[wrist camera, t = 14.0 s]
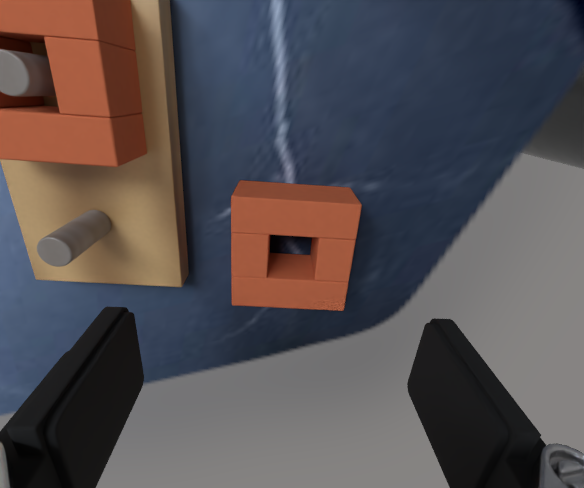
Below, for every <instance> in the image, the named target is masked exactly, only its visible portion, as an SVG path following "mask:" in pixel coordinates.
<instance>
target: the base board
mask: <svg viewBox="0 0 584 488" xmlns="http://www.w3.org/2000/svg"><path fill="white" fill-rule="evenodd" d="M130 3H131V12H132V21H133V30H134V39H135V47H136V50H135V52H136V59H137V67H138V76H139V85H140V94H141V103H142V113H141V114H142V115H143V123H144V132H145V140H146V149H147V154H145V155H143V156H141V157H139V158H136V159H134V160H132V161H130V162H127V163H125V164H123V165H121V166H118V167H107V166H92V165H78V164H63V163H48V162H34V161H19V160H4V159H0V162H1V165H2V168H3V172H4V175H5V178H6V182H7V185H8V188H9V191H10V195H11V198H12V201H13V205H14V208H15V211H16V215H17V218H18V221H19V225H20V228H21V231H22V235H23V238H24V241H25V245H26V248H27V251H28V255H29V258H30V261H31V265H32V268H33V271H34V274H35V278H36V280H53V281H73V282H92V283H112V284H131V285H151V286H170V287H182V286H183V284H184V282H185V280H186V278H187V276H188V275H189V268H188V254H187V240H186V225H185V211H184V197H183V182H182V168H181V154H180V139H179V125H178V111H177V96H176V82H175V68H174V53H173V39H172V25H171V10H170V0H130ZM30 43H31V47H32V51H33V54H32V53H25V52H18V51H12V50H5V49H0V91H1V92H2V93H4V94H6V95H9V96H13V97H26V96H43V99H44V105H43V106H54V107H59V106H58V101H57V97H56V92H55V87H54V82H53V78H52V73H51V68H50V63H49V59H48V54H47V49H46V45H45V43H38V42H30Z"/></svg>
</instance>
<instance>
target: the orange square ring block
mask: <svg viewBox="0 0 584 488" xmlns="http://www.w3.org/2000/svg"><path fill="white" fill-rule="evenodd" d="M361 207H362V205H361V203H360V202H359V200H358V199H357V197H356V196H355V194H354V193H353V191H352V190H351V188H348V187H333V186H318V185H303V184H288V183H273V182H259V181H244V180H240V181H239V183H238V185H237V187H236V188H235V190H234V192H233V194H232V196H231V231H232V233H231V273H232V305H236V306H256V307H277V308H297V309H318V310H338V311H343V310H344V306H345V300H346V294H347V288H348V281H349V277H350V271H351V265H352V259H353V253H354V247H355V242H356V241H355V240H356V236H357V231H358V225H359V219H360V213H361ZM270 235H285V236H301V237H312V242H311V252H310V255H301V254H284V253H270Z"/></svg>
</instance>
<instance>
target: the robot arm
mask: <svg viewBox="0 0 584 488" xmlns="http://www.w3.org/2000/svg"><path fill="white" fill-rule="evenodd" d="M143 381H144V374H143V368H142V362H141V355H140V349H139V343H138V336H137V330H136V324H135V318H134V314H133V313H132V312H129V311H128V309H127V308H125V307H105V308H104V309H103V310H102V311H101V313H100V314H99V315H98V316H97V318H96V319H95V320H94V321H93V322H92V324H91V325H90V326H89V327H88V329H87V330H86V331H85V332H84V334H83V335H82V336H81V337H80V338H79V340H78V341H77V342H76V343H75V345H74V346H73V347H72V348H71V350H70V351H68V352H66V353H65V354H64V355H63V356H62V357H61V358H60V360H59V361H58V362H57V363H56V364H55V366H54V367H53V368H52V369H51V370H50V372H49V373H48V374H47V375H46V377H45V378H44V379H43V380H42V381H41V383H40V384H39V385H38V386H37V387H36V389H35V390H34V391H33V392H32V394H31V395H30V396H29V397H28V398H27V400H26V401H25V402H24V403H23V405H22V406H21V407H20V408H19V409H18V411H17V412H16V413H15V414H14V415H13V417H12V418H11V419H10V420H9V422H8V423H7V424H6V425H5V426H4V428H3V429H2V430H1V431H0V488H96V486H97V483H98V481H99V479H100V477H101V475H102V473H103V470H104V468H105V466H106V464H107V462H108V460H109V457H110V455H111V453H112V451H113V449H114V446H115V445H116V442H117V440H118V438H119V436H120V434H121V431H122V429H123V427H124V425H125V423H126V421H127V418H128V417H129V414H130V412H131V410H132V408H133V406H134V404H135V401H136V399H137V397H138V395H139V393H140V391H141V388H142V385H143ZM408 392H409V395H410V397H411V400H412V402H413V404H414V406H415V409H416V411H417V413H418V416H419V418H420V420H421V423H422V425H423V427H424V429H425V432H426V434H427V436H428V439H429V441H430V443H431V445H432V448H433V450H434V452H435V455H436V457H437V459H438V462H439V464H440V466H441V468H442V471H443V473H444V475H445V478H446V480H447V482H448V484H449V487H450V488H584V454H583V453H582V452H580V451H578V450H576V449H574V448H571V447H569V446H566V445H562V444H549V445H547V446H546V444H545V443H544V442H543V441H542V439H541V438H540V436H541V434H540V433H539V432H538V430H537V429H536V428H535V426H534V425H533V424H532V423H531V421H530V420H529V419H528V418H527V416H526V415H525V413H524V412H523V411H522V410H521V408H520V407H519V406H518V405H517V403H516V402H515V401H514V399H513V398H512V397H511V395H510V394H509V393H508V391H507V390H506V389H505V388H504V386H503V385H502V384H501V382H500V381H499V380H498V379H497V377H496V376H495V374H494V373H493V372H492V371H491V369H490V368H489V367H488V365H487V364H486V363H485V361H484V360H483V359H482V358H481V356H480V355H479V354H478V352H477V351H476V350H475V349H474V347H473V346H472V345H471V343H470V342H469V341H468V339H467V338H466V337H465V336H464V334H463V333H462V332H461V330H460V329H459V328H458V326H457V325H456V324H455V323H454V321H453V320H450V319H432V320H431V321H430V323H427V324H426V325H425V327H424V330H423V334H422V337H421V340H420V344H419V347H418V350H417V353H416V357H415V360H414V363H413V367H412V370H411V373H410V377H409V380H408Z"/></svg>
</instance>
